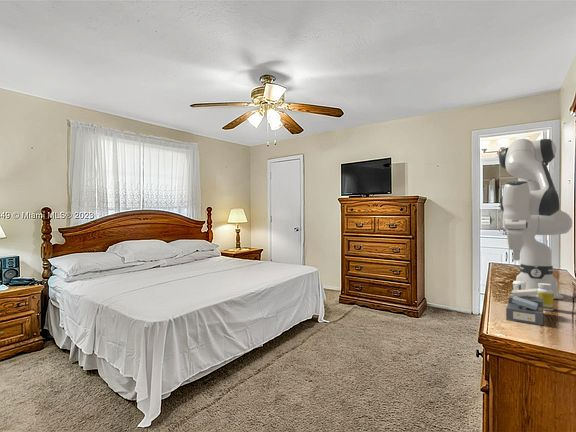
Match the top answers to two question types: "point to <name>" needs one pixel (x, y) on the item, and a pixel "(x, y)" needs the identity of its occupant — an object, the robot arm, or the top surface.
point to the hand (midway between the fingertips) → (516, 260)
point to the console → (525, 311)
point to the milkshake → (519, 285)
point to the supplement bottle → (546, 296)
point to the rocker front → (524, 302)
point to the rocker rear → (525, 292)
